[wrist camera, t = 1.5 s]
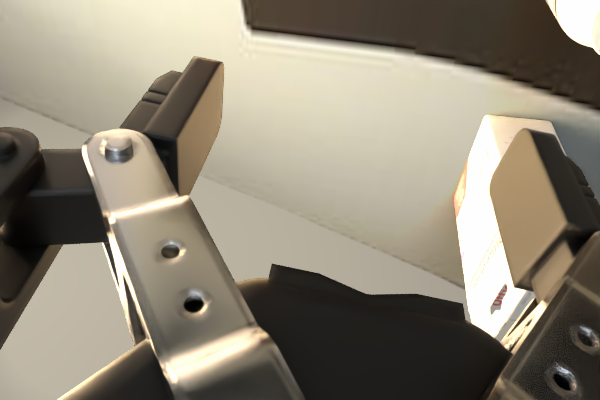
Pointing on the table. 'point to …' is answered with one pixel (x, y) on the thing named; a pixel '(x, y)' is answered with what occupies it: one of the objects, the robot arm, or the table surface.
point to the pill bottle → (579, 20)
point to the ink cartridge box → (489, 227)
